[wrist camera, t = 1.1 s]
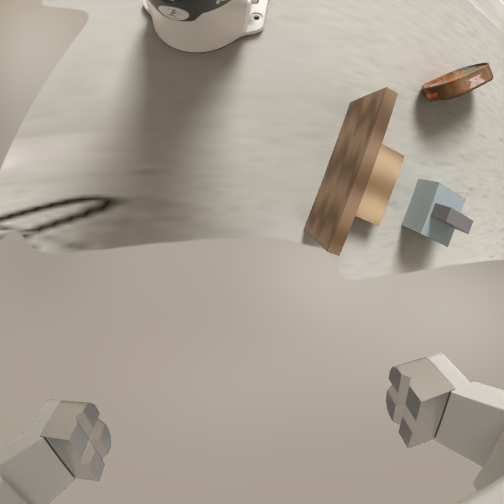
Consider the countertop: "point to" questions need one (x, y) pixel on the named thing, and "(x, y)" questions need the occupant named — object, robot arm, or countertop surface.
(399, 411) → the robot arm
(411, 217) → the blue block with handle
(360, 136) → the brown wooden piece
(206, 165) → the countertop surface
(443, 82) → the tin
